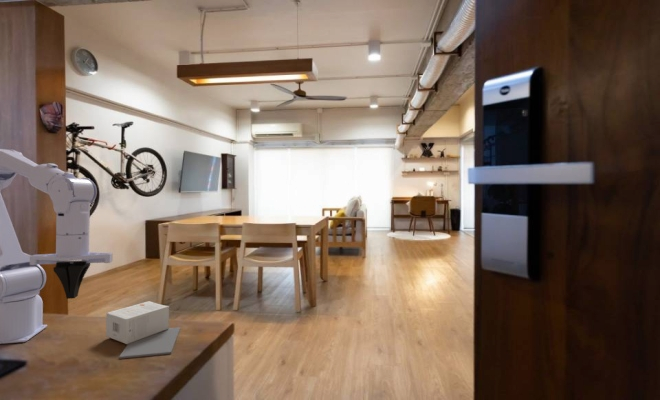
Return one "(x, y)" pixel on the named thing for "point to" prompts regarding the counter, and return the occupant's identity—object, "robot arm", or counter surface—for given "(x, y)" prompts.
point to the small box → (137, 321)
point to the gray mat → (152, 344)
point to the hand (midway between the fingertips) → (72, 297)
